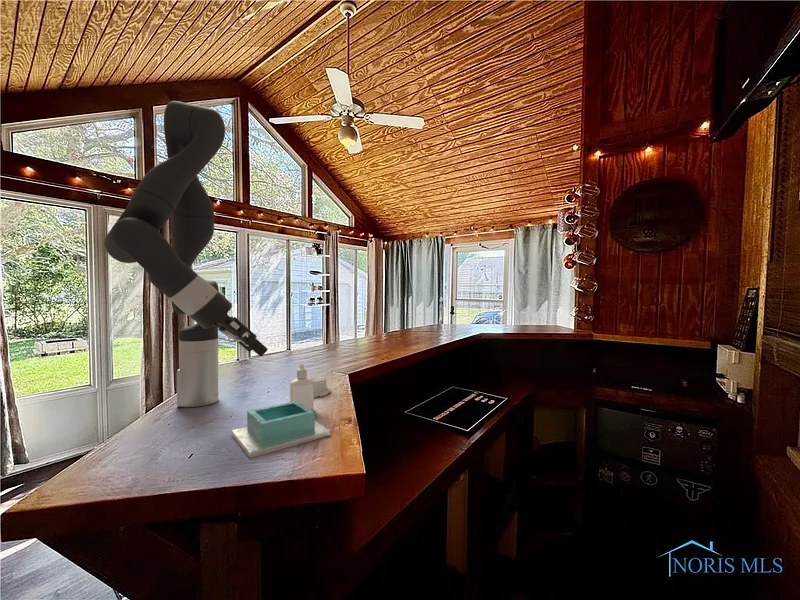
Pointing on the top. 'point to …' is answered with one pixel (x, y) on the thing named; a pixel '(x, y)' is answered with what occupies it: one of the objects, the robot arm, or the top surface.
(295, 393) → the eye dropper bottle
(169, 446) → the top surface
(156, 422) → the top surface
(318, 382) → the mechanical component
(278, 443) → the tray
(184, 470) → the top surface
